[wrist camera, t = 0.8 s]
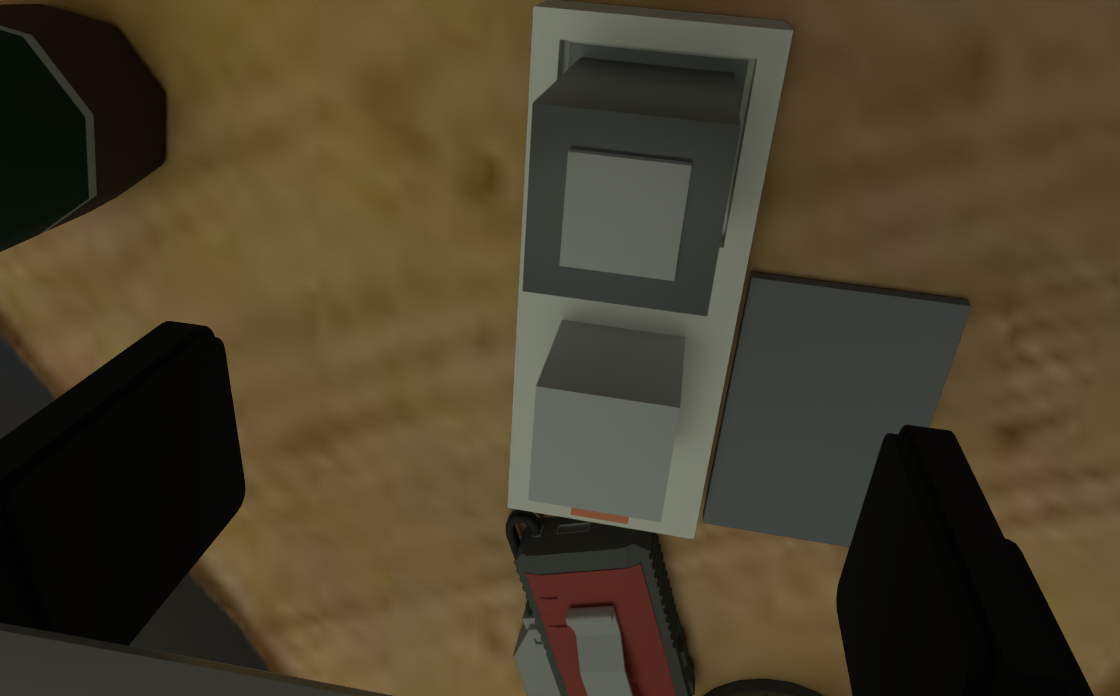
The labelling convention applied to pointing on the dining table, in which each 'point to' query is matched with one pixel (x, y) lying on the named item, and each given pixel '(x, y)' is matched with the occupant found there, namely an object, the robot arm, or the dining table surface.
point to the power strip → (633, 332)
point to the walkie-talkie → (596, 611)
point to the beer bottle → (69, 119)
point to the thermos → (761, 689)
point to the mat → (823, 400)
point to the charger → (630, 184)
